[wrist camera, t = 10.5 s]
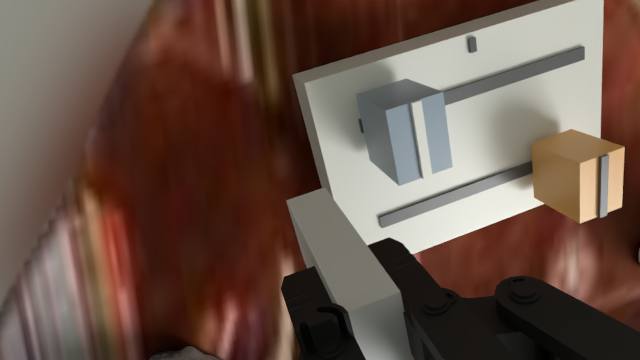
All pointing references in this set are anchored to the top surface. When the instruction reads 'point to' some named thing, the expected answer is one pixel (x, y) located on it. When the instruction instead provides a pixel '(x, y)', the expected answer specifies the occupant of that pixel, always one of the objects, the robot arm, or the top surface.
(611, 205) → the orange fader
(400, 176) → the slate fader
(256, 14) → the top surface
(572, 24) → the fader console
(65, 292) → the top surface
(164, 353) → the geode
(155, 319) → the top surface
